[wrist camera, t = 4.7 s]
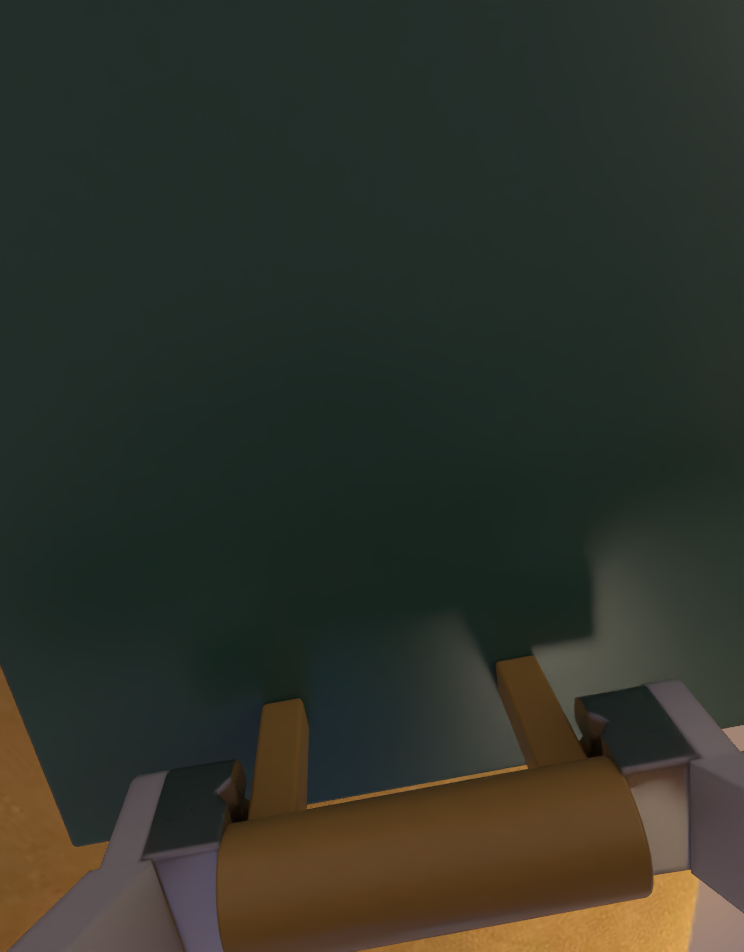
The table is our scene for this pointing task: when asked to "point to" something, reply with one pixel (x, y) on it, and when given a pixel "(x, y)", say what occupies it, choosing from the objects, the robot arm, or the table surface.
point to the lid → (371, 430)
